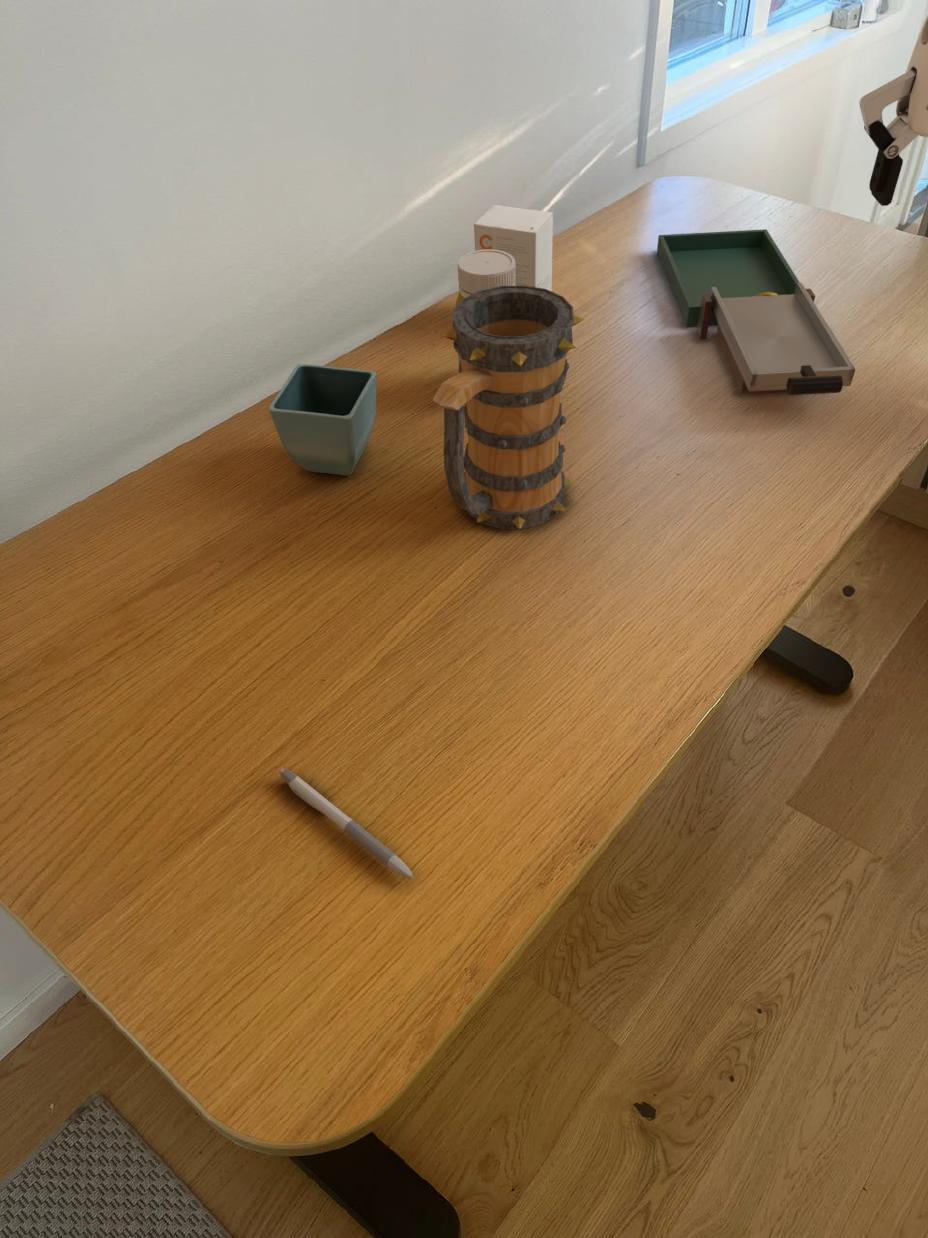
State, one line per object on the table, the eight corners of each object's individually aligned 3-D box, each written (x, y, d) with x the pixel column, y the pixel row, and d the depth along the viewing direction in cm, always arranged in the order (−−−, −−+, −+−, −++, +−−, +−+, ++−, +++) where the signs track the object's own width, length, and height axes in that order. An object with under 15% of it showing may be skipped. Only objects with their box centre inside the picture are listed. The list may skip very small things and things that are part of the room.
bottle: (508, 405, 105) (508, 279, 94) (451, 396, 106) (444, 272, 96) (525, 374, 109) (527, 251, 98) (470, 366, 111) (465, 244, 100)
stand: (838, 388, 104) (849, 349, 101) (722, 394, 105) (730, 355, 101) (801, 326, 115) (810, 288, 111) (696, 331, 115) (702, 293, 111)
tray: (806, 320, 115) (811, 300, 113) (686, 327, 116) (689, 306, 114) (762, 247, 130) (766, 228, 128) (656, 253, 130) (658, 234, 128)
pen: (287, 772, 71) (284, 762, 70) (418, 879, 64) (417, 869, 63) (277, 781, 70) (274, 770, 69) (408, 889, 63) (407, 879, 62)
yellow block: (781, 297, 113) (782, 294, 113) (766, 294, 112) (767, 290, 112) (749, 306, 118) (749, 303, 118) (734, 302, 117) (734, 299, 117)
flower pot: (361, 491, 95) (350, 417, 88) (282, 481, 96) (266, 408, 90) (386, 442, 101) (377, 370, 94) (311, 434, 102) (297, 362, 96)
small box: (551, 312, 120) (554, 211, 110) (534, 335, 116) (536, 232, 106) (494, 302, 122) (493, 202, 113) (476, 324, 118) (472, 223, 109)
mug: (600, 485, 94) (615, 301, 79) (505, 581, 85) (503, 393, 70) (497, 444, 99) (494, 266, 85) (398, 530, 90) (375, 347, 76)
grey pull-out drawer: (863, 407, 96) (873, 379, 93) (758, 413, 96) (765, 384, 93) (797, 298, 112) (804, 271, 110) (708, 303, 112) (712, 276, 110)
